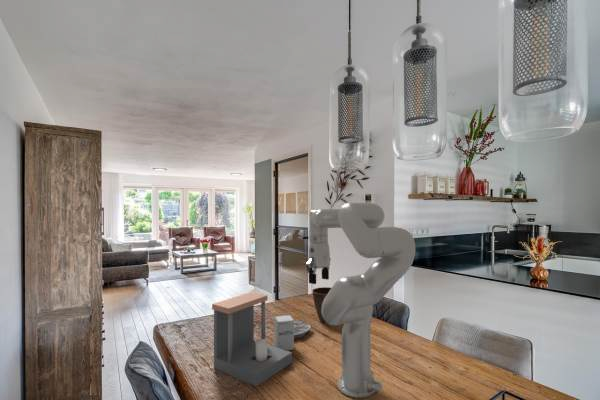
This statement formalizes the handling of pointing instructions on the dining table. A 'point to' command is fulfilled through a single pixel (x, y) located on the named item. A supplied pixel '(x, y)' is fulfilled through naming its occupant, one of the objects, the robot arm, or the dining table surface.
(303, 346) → the dining table surface
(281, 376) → the dining table surface
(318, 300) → the plant pot
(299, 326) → the brain slice
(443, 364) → the dining table surface
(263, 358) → the peg
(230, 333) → the socket station
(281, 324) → the supplement box
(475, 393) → the dining table surface
